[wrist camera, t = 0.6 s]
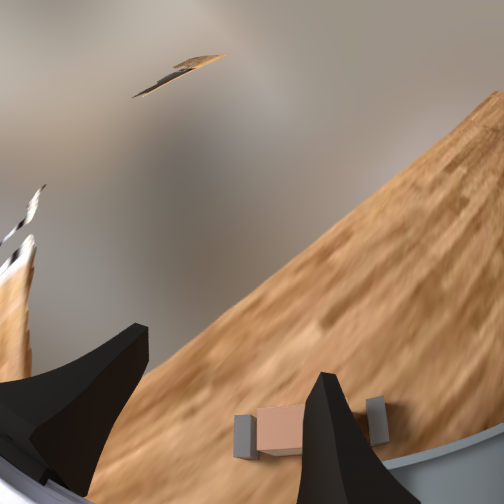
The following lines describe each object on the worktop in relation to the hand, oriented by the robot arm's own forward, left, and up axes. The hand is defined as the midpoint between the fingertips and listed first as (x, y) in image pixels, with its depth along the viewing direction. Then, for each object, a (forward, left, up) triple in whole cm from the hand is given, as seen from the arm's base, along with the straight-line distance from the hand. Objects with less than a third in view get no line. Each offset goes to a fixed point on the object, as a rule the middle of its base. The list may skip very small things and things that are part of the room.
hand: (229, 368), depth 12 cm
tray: (-9, -13, -18) cm, 24 cm away
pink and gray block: (0, -1, -18) cm, 18 cm away
